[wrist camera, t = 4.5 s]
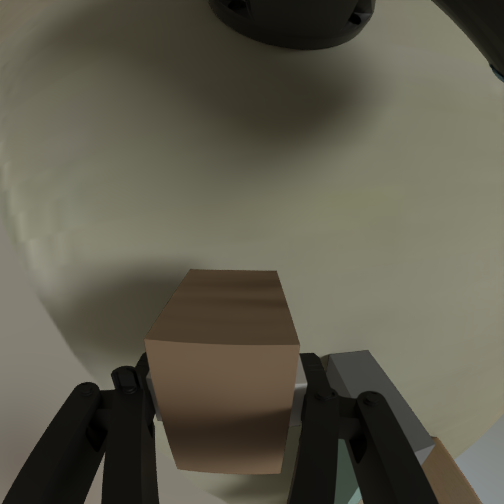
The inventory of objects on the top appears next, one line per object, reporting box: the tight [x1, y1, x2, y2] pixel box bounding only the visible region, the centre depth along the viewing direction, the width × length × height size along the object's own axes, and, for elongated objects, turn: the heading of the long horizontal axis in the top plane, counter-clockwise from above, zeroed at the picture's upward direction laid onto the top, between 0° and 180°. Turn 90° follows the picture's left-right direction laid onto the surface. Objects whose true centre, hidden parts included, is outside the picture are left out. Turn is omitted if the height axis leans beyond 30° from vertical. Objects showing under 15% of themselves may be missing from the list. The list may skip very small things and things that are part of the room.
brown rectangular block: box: [144, 269, 300, 474], centre depth 13 cm, size 8×5×8 cm, turn 179°
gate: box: [334, 439, 362, 504], centre depth 21 cm, size 15×1×10 cm, turn 179°
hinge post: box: [326, 350, 435, 465], centre depth 18 cm, size 4×4×13 cm
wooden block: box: [421, 437, 482, 504], centre depth 19 cm, size 10×10×20 cm
